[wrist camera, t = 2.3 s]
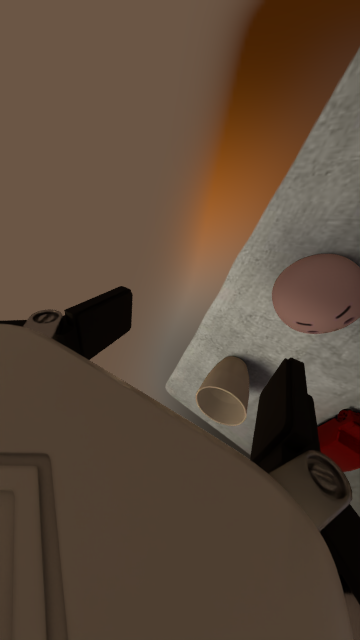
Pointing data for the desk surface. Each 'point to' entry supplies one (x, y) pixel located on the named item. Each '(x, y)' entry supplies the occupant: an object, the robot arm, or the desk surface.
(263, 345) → the desk surface
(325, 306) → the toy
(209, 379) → the cup
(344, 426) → the toy car
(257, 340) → the desk surface
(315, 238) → the desk surface
